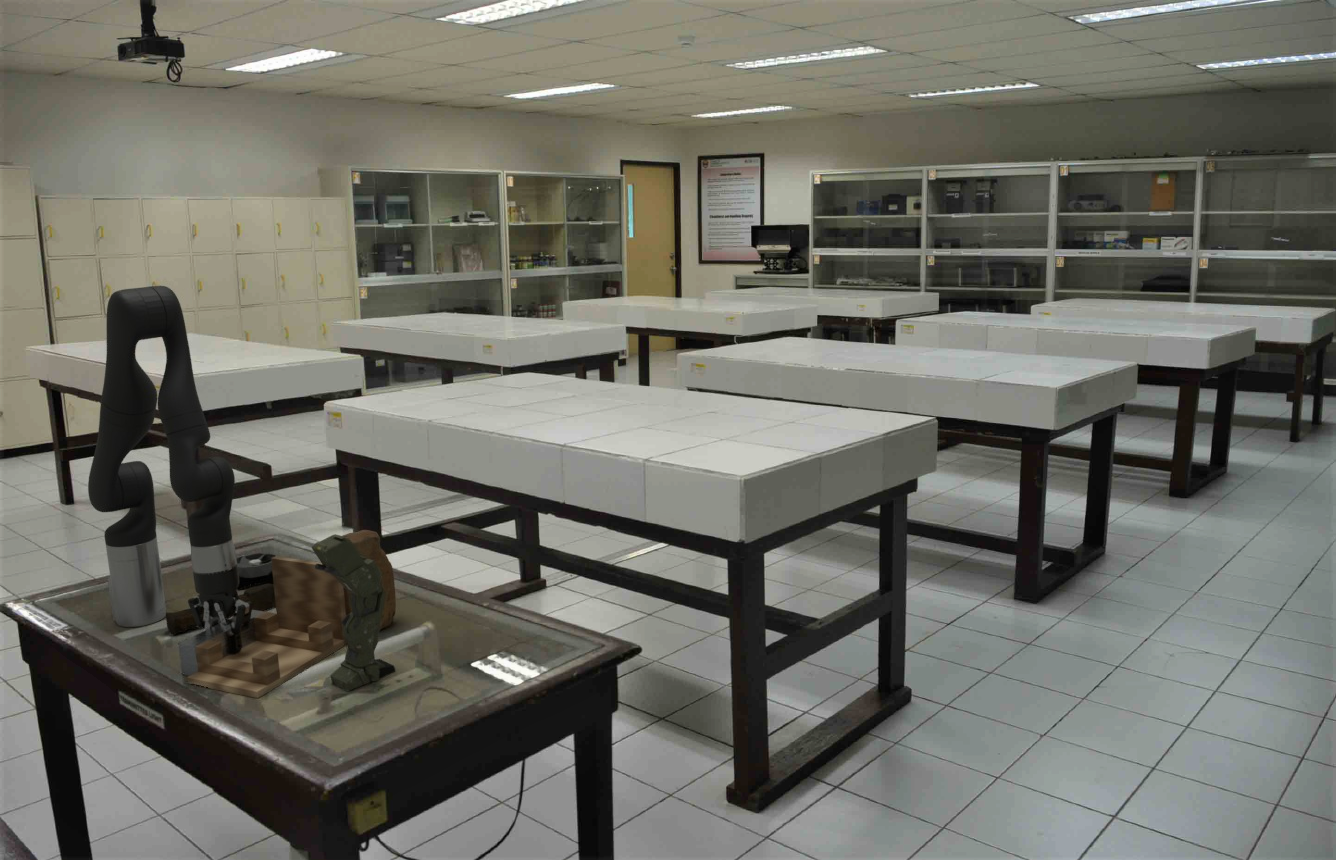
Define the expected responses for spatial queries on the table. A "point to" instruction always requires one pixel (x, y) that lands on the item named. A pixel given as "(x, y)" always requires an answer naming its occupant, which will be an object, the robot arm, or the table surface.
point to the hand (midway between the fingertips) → (226, 650)
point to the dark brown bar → (257, 596)
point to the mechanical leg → (356, 610)
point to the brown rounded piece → (371, 549)
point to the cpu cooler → (254, 569)
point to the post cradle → (280, 633)
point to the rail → (213, 634)
